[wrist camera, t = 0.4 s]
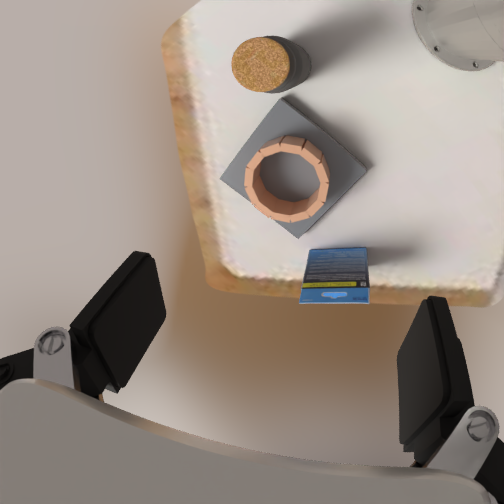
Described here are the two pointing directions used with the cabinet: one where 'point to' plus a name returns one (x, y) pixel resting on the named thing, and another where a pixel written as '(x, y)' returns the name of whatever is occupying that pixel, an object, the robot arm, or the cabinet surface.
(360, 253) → the label tape box
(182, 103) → the cabinet surface
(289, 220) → the holder
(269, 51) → the bottle
